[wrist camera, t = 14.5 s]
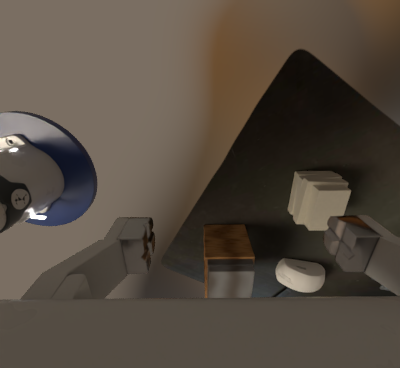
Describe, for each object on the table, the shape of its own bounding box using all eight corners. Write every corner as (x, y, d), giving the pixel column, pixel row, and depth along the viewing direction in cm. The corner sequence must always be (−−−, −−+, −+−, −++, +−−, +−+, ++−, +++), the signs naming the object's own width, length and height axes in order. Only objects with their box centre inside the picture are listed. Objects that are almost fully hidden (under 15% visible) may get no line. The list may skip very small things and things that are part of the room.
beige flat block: (303, 223, 45) (308, 230, 43) (312, 185, 41) (319, 190, 39) (331, 223, 45) (338, 230, 42) (343, 184, 41) (351, 190, 39)
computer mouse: (279, 256, 56) (288, 275, 51) (324, 263, 58) (338, 282, 52) (271, 273, 59) (279, 293, 53) (314, 280, 60) (327, 300, 55)
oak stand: (204, 261, 57) (205, 311, 44) (203, 224, 52) (205, 269, 39) (240, 260, 57) (252, 310, 44) (244, 224, 52) (258, 268, 39)
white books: (285, 211, 51) (295, 226, 45) (293, 170, 46) (305, 181, 41) (323, 210, 50) (337, 225, 45) (334, 169, 46) (352, 180, 41)
